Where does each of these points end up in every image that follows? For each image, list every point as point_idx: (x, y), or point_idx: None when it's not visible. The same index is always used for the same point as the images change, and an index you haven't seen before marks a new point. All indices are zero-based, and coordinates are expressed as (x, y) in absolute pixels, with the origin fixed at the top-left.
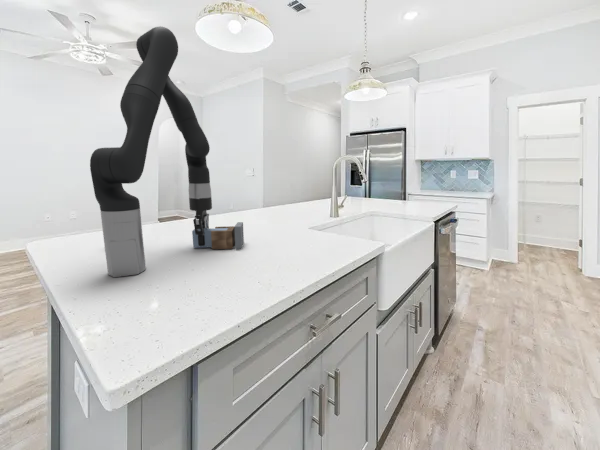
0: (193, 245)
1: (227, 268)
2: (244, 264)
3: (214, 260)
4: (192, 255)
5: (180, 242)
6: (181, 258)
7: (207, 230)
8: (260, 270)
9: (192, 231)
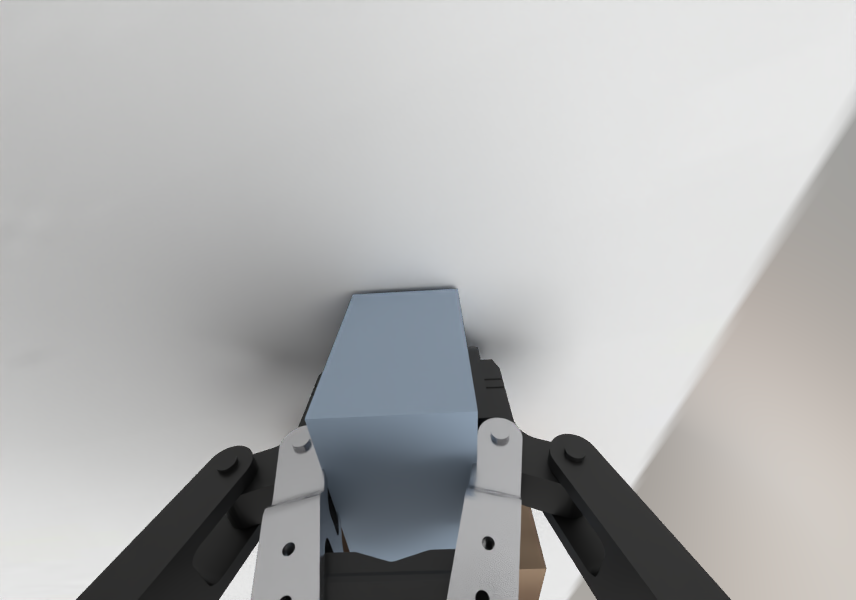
0: (348, 308)
1: (13, 523)
2: (102, 557)
3: (101, 466)
4: (150, 339)
5: (674, 42)
6: (40, 289)
7: (356, 537)
8: (58, 592)
9: (306, 416)
